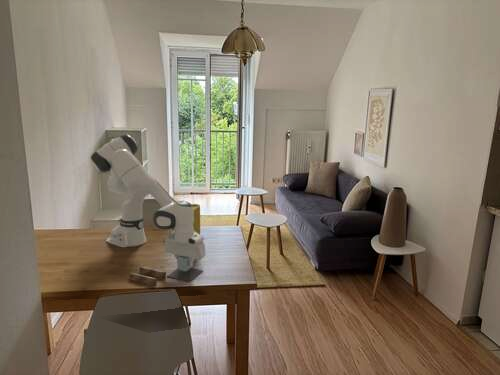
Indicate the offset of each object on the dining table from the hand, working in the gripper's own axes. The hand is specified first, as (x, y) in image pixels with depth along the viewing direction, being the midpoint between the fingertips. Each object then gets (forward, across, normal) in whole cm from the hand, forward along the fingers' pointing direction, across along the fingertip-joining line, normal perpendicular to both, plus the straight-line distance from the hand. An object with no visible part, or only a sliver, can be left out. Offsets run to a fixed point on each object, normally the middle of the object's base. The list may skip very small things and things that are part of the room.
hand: (184, 264), depth 173 cm
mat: (+5, 0, 0) cm, 5 cm away
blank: (+2, 0, 0) cm, 2 cm away
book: (+5, -10, +22) cm, 25 cm away
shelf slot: (+5, -13, -11) cm, 17 cm away
